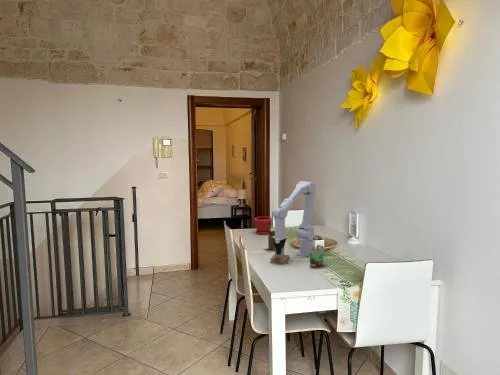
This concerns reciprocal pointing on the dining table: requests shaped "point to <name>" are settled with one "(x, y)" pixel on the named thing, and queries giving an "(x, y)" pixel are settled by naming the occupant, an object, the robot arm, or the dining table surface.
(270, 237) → the condiment
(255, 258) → the dining table surface
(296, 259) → the dining table surface
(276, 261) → the base
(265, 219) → the plant pot
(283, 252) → the block
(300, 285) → the dining table surface
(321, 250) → the food container
